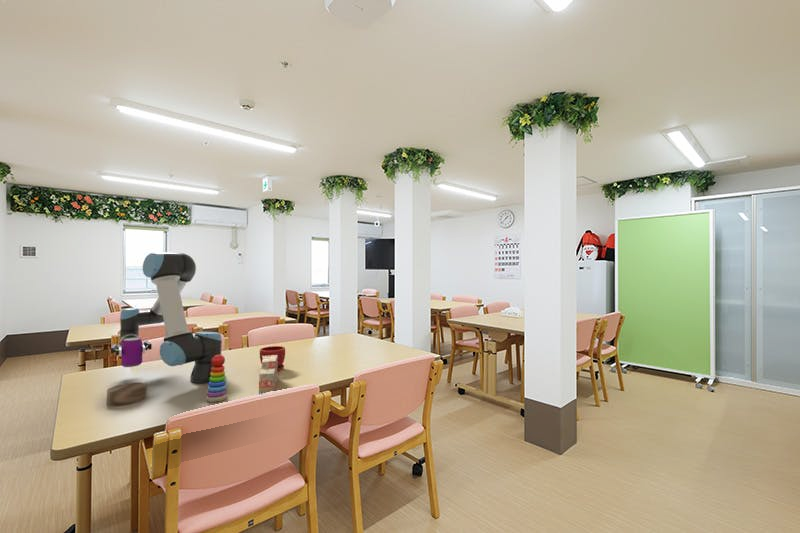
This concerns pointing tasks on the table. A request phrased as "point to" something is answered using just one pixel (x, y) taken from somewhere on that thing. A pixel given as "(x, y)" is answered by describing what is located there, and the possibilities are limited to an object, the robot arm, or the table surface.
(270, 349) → the plant pot
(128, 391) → the walnut pedestal
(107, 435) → the table surface
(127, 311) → the robot arm
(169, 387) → the table surface
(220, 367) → the stacking toy
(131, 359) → the beverage can
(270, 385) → the stack of blocks
